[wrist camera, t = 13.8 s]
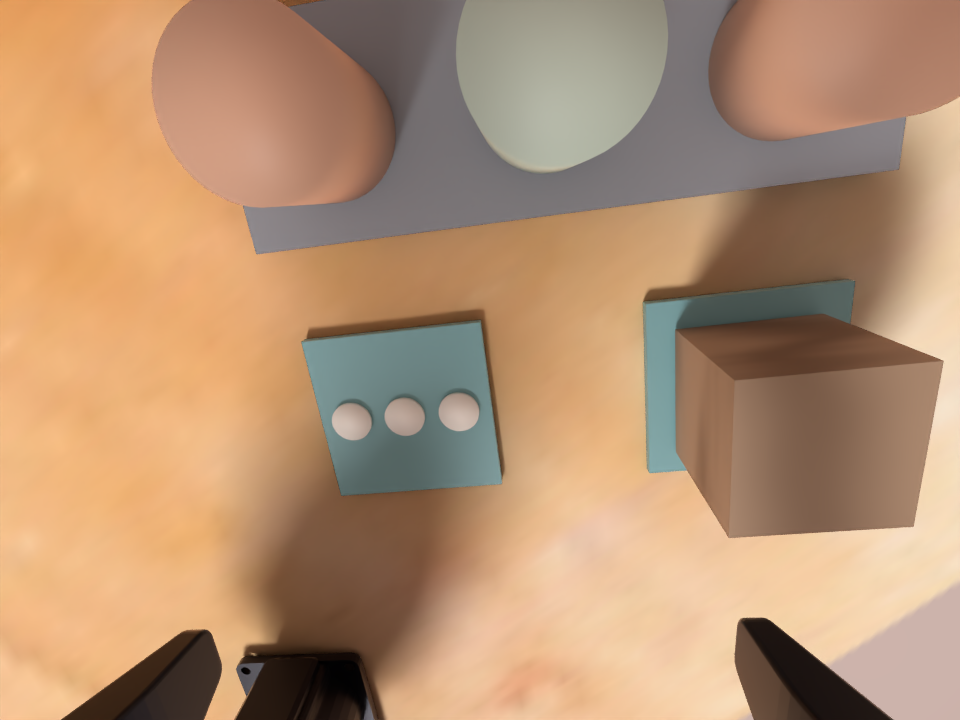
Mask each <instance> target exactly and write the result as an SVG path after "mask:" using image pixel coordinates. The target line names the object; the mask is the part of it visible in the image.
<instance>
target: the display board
mask: <svg viewBox="0 0 960 720" xmlns="http://www.w3.org/2000/svg"><path fill="white" fill-rule="evenodd" d="M152 95H153V102H154V108H155V112H156V116H157V120H158V123H159V125H160V128H161V131H162V133H163V136H164V138H165V140H166V142H167V144H168V146H169V147H170V149H171V151H172V152H173V154H174V155H175V157H176V159H177V160H178V161H179V162H180V164H181V165H182V166H183V168H184V169H185V170H186V171H187V172H188V173H189V174H190V175H191V176H192V177H193V178H194V179H195V180H196V181H197V182H198V183H200V184H201V185H202V186H203V187H204V188H206V189H208V190H209V191H211V192H212V193H214V194H215V195H217V196H219V197H221V198H223V199H225V200H227V201H230V202H233V203H236V204H239V205H243V208H244V211H245V215H246V218H247V222H248V226H249V229H250V233H251V237H252V240H253V244H254V248H255V251H256V254H263V253H271V252H278V251H286V250H293V249H301V248H308V247H316V246H324V245H331V244H339V243H346V242H354V241H361V240H369V239H377V238H384V237H392V236H399V235H407V234H414V233H422V232H430V231H437V230H445V229H452V228H460V227H467V226H475V225H483V224H490V223H498V222H505V221H513V220H520V219H528V218H536V217H543V216H551V215H558V214H566V213H573V212H581V211H589V210H596V209H604V208H611V207H619V206H626V205H634V204H642V203H649V202H657V201H664V200H672V199H679V198H687V197H695V196H702V195H710V194H717V193H725V192H732V191H740V190H748V189H755V188H763V187H770V186H778V185H785V184H793V183H801V182H808V181H816V180H823V179H831V178H839V177H846V176H854V175H861V174H869V173H876V172H884V171H892V170H899V165H900V158H901V151H902V143H903V136H904V129H905V121H906V117H907V116H911V115H916V114H921V113H924V112H927V111H930V110H933V109H936V108H938V107H940V106H943V105H945V104H947V103H949V102H951V101H953V100H955V99H956V98H958V97H960V0H322V1H317V2H312V3H306V4H301V5H296V6H290V7H287V6H286V5H284V4H283V3H281V2H279V1H277V0H192V1H190V2H189V3H188V4H186V5H185V6H183V7H182V8H181V9H180V10H179V11H178V12H177V13H176V14H175V15H174V17H173V18H172V19H171V21H170V22H169V23H168V25H167V26H166V28H165V30H164V32H163V34H162V36H161V38H160V40H159V43H158V46H157V49H156V52H155V57H154V62H153V69H152Z"/></svg>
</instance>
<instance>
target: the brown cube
mask: <svg viewBox="0 0 960 720" xmlns="http://www.w3.org/2000/svg"><path fill="white" fill-rule="evenodd" d="M943 362H944V361H943V360H940V359H938V358H935V357H933V356H930V355H928V354H925V353H922V352H920V351H917V350H915V349H912V348H910V347H907V346H905V345H902V344H900V343H897V342H895V341H892V340H889V339H887V338H884V337H882V336H879V335H877V334H874V333H872V332H869V331H867V330H864V329H862V328H859V327H856V326H854V325H851V324H849V323H846V322H844V321H841V320H839V319H836V318H834V317H831V316H829V315H826V314H814V315H805V316H796V317H786V318H777V319H767V320H758V321H749V322H739V323H730V324H721V325H711V326H702V327H693V328H683V329H675V416H676V453H677V455H678V456H679V458H680V460H681V461H682V463H683V464H684V466H685V468H686V469H687V471H688V473H689V474H690V476H691V477H692V479H693V481H694V482H695V484H696V486H697V487H698V489H699V490H700V492H701V494H702V495H703V497H704V498H705V500H706V502H707V503H708V505H709V507H710V508H711V510H712V511H713V513H714V515H715V516H716V518H717V519H718V521H719V523H720V524H721V526H722V528H723V529H724V531H725V532H726V534H727V536H728V537H729V538H736V537H753V536H769V535H785V534H802V533H818V532H835V531H851V530H867V529H884V528H900V527H913V526H914V521H915V515H916V510H917V504H918V499H919V493H920V488H921V482H922V477H923V472H924V466H925V461H926V455H927V450H928V444H929V439H930V433H931V428H932V422H933V417H934V411H935V406H936V400H937V395H938V389H939V384H940V378H941V373H942V367H943Z"/></svg>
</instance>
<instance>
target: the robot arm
mask: <svg viewBox="0 0 960 720" xmlns="http://www.w3.org/2000/svg"><path fill="white" fill-rule="evenodd" d="M735 665H736V669H737V673H738V676H739V679H740V682H741V685H742V687H743V690H744V693H745V696H746V699H747V702H748V705H749V707H750V710H751V713H752V716H753V718H754V720H893V719H892V718H891V717H889V716H888V715H887V714H886V713H885V712H883V711H882V710H881V709H880V708H878V707H877V706H876V705H875V704H873V703H872V702H871V701H870V700H868V699H867V698H866V697H864V696H863V695H862V694H861V693H860V692H858V691H857V690H856V689H855V688H853V687H852V686H851V685H850V684H848V683H847V682H846V681H844V679H842V678H841V677H840V676H839V675H837V674H836V673H835V672H834V671H832V670H831V669H830V668H829V667H827V666H826V665H825V664H824V663H822V662H821V661H820V660H819V659H817V658H816V657H815V656H814V655H812V654H811V653H810V652H809V651H808V650H806V649H805V648H804V647H803V646H801V645H800V644H799V643H798V642H796V641H795V640H794V639H793V638H791V637H790V636H789V635H788V634H786V633H785V632H784V631H783V630H781V629H780V628H779V627H778V626H776V625H775V624H774V623H773V622H771V621H770V620H768V619H766V618H742V619H740V620H739V622H738V625H737V635H736V645H735ZM236 670H237V674H238V676H239V679H240V681H241V684H242V686H243V689H244V691H245V694H246V696H247V697H246V699H245V701H244V702H243V704H242V706H241V708H240V710H239V712H238V714H237V716H236V717H235V719H234V720H378V717H377V713H376V709H375V706H374V702H373V699H372V695H371V692H370V688H369V684H368V681H367V677H366V674H365V670H364V667H363V663H362V660H361V658H360V656H358V655H357V654H355V653H329V654H302V655H276V656H249V657H244V658H242V659H241V661H240V662H239V664H238V666H237V668H236ZM221 671H222V664H221V660H220V657H219V654H218V651H217V648H216V645H215V642H214V639H213V636H212V634H211V633H210V632H209V631H208V630H186V631H183V632H181V633H180V634H178V635H177V636H176V637H174V638H173V639H172V640H170V641H169V642H167V643H166V644H165V645H163V646H162V647H161V648H159V649H158V650H156V651H155V652H154V653H152V654H151V655H149V656H148V657H147V658H145V659H144V660H143V661H141V662H140V663H138V664H137V665H136V666H134V667H133V668H132V669H130V670H129V671H127V672H126V673H125V674H123V675H122V676H121V677H119V678H118V679H116V680H115V681H114V682H112V683H111V684H110V685H108V686H107V687H105V688H104V689H103V690H101V691H100V692H99V693H97V694H96V695H94V696H93V697H92V698H90V699H89V700H88V701H86V702H85V703H83V704H82V705H81V706H79V707H78V708H76V709H75V710H74V711H72V712H71V713H70V714H68V715H67V716H65V717H64V718H63V719H61V720H204V718H205V716H206V713H207V711H208V708H209V706H210V703H211V701H212V698H213V696H214V693H215V690H216V688H217V685H218V683H219V680H220V677H221Z"/></svg>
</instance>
